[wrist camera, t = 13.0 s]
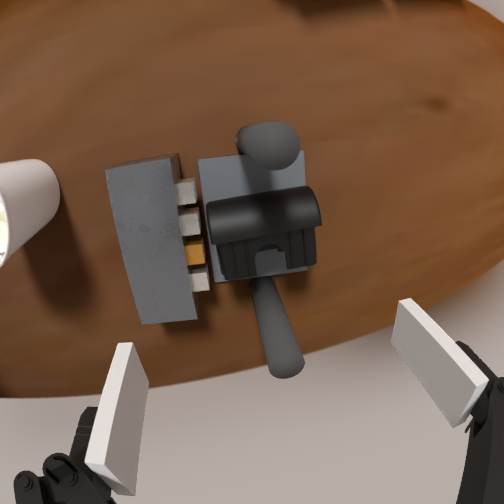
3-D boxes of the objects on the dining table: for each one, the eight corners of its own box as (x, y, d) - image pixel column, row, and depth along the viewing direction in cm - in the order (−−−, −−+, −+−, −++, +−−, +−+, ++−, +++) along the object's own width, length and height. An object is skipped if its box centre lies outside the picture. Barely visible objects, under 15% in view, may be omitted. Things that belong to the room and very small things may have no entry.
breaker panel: (151, 295, 36) (142, 324, 30) (123, 162, 29) (104, 170, 24) (212, 288, 36) (212, 317, 31) (193, 150, 30) (188, 155, 25)
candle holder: (79, 176, 29) (21, 203, 18) (49, 246, 32) (-2, 294, 21) (21, 138, 26) (-45, 150, 15) (-3, 207, 29) (-62, 240, 18)
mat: (214, 280, 36) (214, 282, 36) (198, 159, 30) (198, 160, 30) (306, 268, 37) (307, 270, 36) (302, 150, 31) (303, 150, 31)
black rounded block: (299, 179, 32) (320, 192, 26) (305, 240, 35) (325, 265, 29) (206, 195, 32) (204, 211, 25) (218, 256, 34) (220, 285, 28)
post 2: (251, 298, 37) (269, 381, 24) (248, 276, 36) (268, 356, 23) (275, 295, 38) (304, 375, 25) (274, 273, 36) (305, 349, 24)
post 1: (236, 155, 31) (252, 172, 18) (234, 127, 30) (248, 123, 17) (265, 152, 31) (301, 168, 18) (263, 124, 30) (298, 120, 17)
